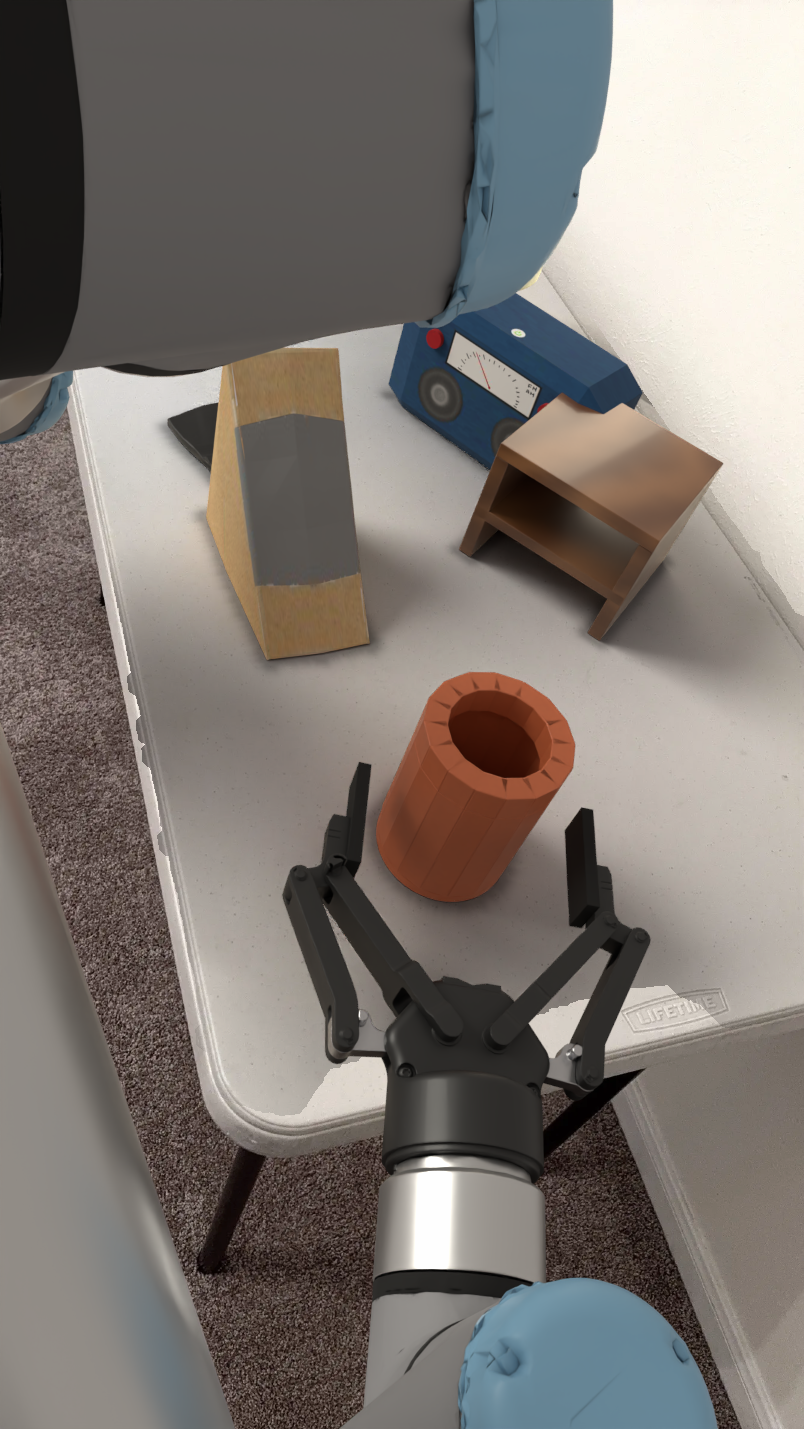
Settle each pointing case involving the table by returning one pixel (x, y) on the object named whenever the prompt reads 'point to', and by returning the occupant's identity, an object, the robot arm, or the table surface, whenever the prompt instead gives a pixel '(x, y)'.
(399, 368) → the radio
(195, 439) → the dark sector wedge
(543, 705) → the canister
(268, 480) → the sandwich container
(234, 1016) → the table surface
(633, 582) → the shelf
